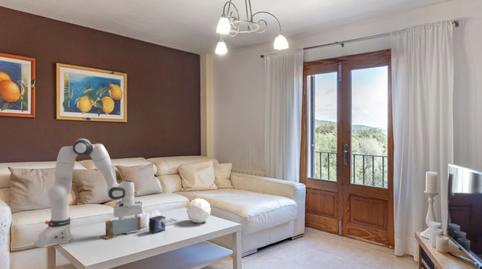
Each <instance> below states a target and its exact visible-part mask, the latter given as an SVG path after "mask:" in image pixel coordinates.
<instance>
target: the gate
mask: <svg viewBox="0 0 482 269" xmlns="http://www.w3.org/2000/svg"><path fill="white" fill-rule="evenodd" d="M111 221H112V234H113V235H114V234H115V235H119V234H124V233H129V232H130V233H131V232H135V231H141V221H142V220H141V216H140V215H137V217H135V216H133V217H126V218H121V219H114V220H111Z"/></svg>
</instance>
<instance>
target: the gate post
mask: <svg viewBox="0 0 482 269" xmlns="http://www.w3.org/2000/svg"><path fill="white" fill-rule="evenodd" d="M99 237H100V238H101V239H104V240H106V241H107V240H110V239H111V240H112V239H115V238H117V237H118V234H114V235H113V234H112V220H106V221H105V234H102V235H100V236H99Z"/></svg>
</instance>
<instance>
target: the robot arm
mask: <svg viewBox="0 0 482 269" xmlns="http://www.w3.org/2000/svg"><path fill="white" fill-rule="evenodd" d="M77 156H90V157H91V160H92V162H93V165H94V166H95V168H96V169H97V171H99V173H101V174H102V175H103V177H104V179H105V182H106V184H107V195H108V198H110V199H111V200H119V201H117V202H115V203H114V207H113V217H114V218H119V219H123V217H128V216H134V217H138V215H140V214H141V215H142V214H143V202H142V201H140V200H139V201H135V200H136V199H135V191H136V190H135V182H133V181H132V180H130V179H128V180H127V179H124V180H122V181H121V182H120V183H118V182H117V180H116V178H115V176H114V172H113V169H112V168H113V166H112V160H111V158H110V155H109V152H108V150H107V149H106V148H105V146H104V144H102V143H94V144H92V143H91V140H89V139H87V138H85V137H83V138H79V139H77V140H75V141H74V142H73V144H72V145H70V146H69V145H67V146H63V147H61V148H60V149H59V151H58V155H57V158H56V163H55V169H54V172H53V173H54V184H53V185H52V186H50V187H49V189H48V191H47V196H48V199H49V204H50V220H49V221H48V220H45V222H44V224H46V225H48V226H47V227H45V229H42V231H41V232H40V233H39V234H38V236H37V238H38V239H37V240H36V241H34V242H33V245H34V246H36V247H38V248H48V247H52V246H56V245H57V246H58V245H62V244H65V243H69V242H70V241H71V240H72V239H73V236H72V233H71V217H70V203H69V201H68V200H69V199H68V198H69V197H68V195H69V194H70V193H71V192H72V187H73V174H74V169H75V164H76V163H75V162H76V159H77ZM120 199H121V200H120ZM119 219H118V220H119Z"/></svg>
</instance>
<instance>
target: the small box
mask: <svg viewBox="0 0 482 269" xmlns="http://www.w3.org/2000/svg"><path fill="white" fill-rule="evenodd" d="M148 220H149V221H148V222H149V223H148V225H149V226H148V227H149V228H148V233H150V234H154V235H156V234H158V233H162V232H164V231H166V216H163V215H162V214H161V215H156V216H153V217H149V219H148Z"/></svg>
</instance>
